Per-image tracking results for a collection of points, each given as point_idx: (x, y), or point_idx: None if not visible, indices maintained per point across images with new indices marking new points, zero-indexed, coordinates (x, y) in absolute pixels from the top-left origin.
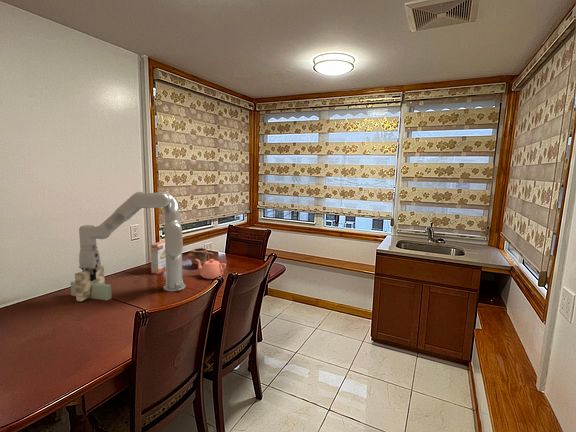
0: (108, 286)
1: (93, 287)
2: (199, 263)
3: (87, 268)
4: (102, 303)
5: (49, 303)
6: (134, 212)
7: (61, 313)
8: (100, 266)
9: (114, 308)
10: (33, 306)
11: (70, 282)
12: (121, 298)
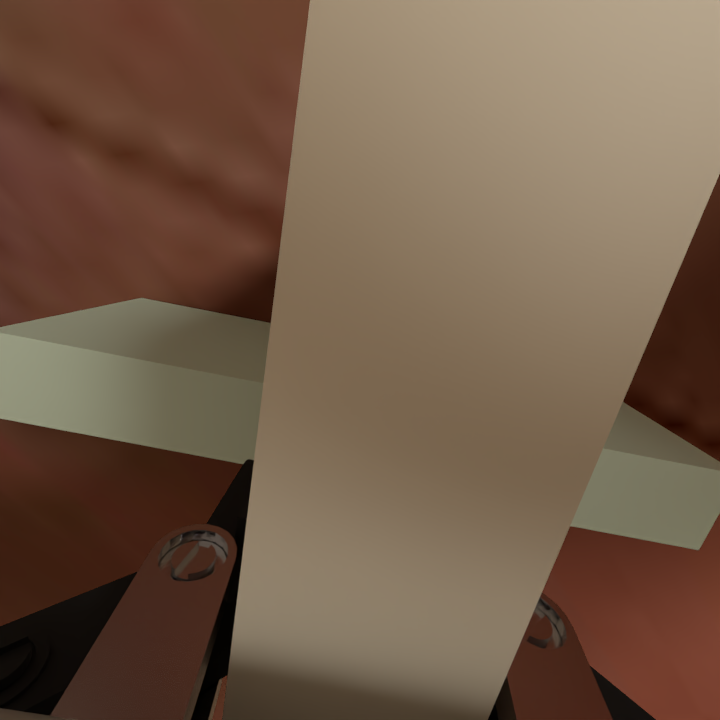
0: (703, 511)
1: None
2: None
3: (134, 695)
4: None
5: (114, 523)
6: None
7: None
8: (596, 255)
9: (713, 576)
10: (52, 574)
11: (5, 414)
12: (705, 379)
